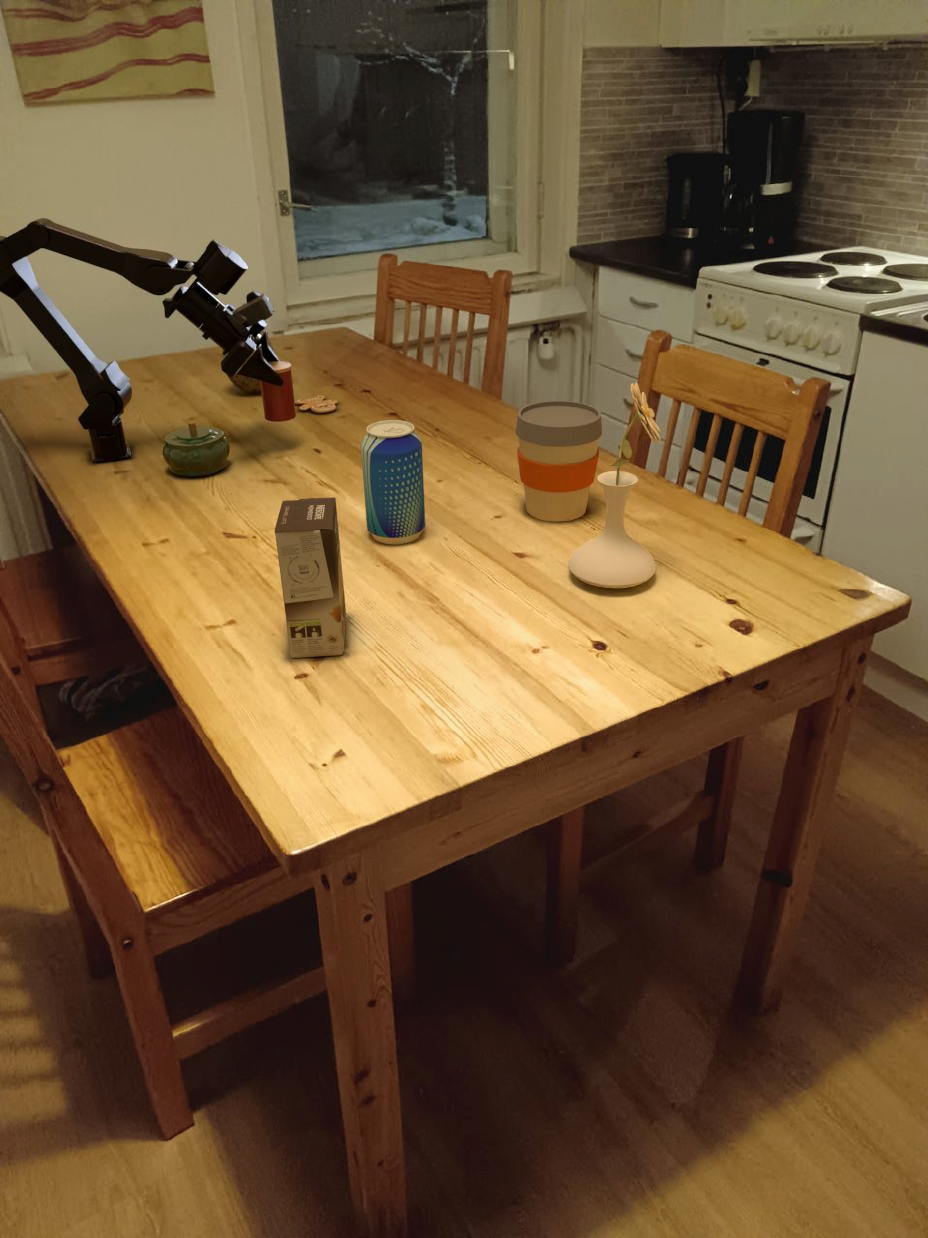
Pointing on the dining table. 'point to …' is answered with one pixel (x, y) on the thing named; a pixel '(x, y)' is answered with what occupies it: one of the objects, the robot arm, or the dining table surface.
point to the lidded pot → (196, 451)
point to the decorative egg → (247, 382)
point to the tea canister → (279, 395)
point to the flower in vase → (617, 522)
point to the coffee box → (311, 576)
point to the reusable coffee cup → (558, 457)
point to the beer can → (393, 481)
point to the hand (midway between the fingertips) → (284, 379)
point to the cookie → (317, 404)
